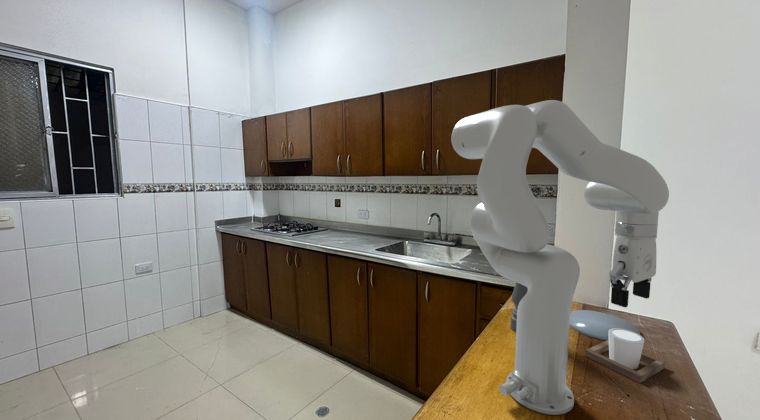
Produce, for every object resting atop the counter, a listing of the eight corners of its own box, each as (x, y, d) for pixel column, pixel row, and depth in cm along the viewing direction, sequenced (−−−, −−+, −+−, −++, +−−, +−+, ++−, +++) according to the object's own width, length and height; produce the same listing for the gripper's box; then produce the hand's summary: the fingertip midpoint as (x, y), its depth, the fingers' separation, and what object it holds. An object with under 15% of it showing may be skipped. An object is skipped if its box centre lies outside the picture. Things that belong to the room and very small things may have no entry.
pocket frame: (639, 383, 67) (640, 376, 67) (585, 355, 77) (585, 349, 77) (664, 368, 72) (665, 361, 72) (610, 344, 83) (610, 338, 82)
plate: (618, 349, 80) (618, 345, 80) (552, 320, 96) (553, 317, 96) (652, 332, 88) (652, 329, 88) (586, 308, 104) (587, 306, 104)
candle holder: (534, 327, 92) (538, 245, 89) (532, 336, 87) (536, 249, 84) (512, 322, 96) (515, 243, 93) (508, 330, 90) (512, 247, 88)
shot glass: (649, 372, 71) (651, 343, 70) (615, 369, 72) (617, 340, 72) (631, 355, 78) (633, 329, 77) (600, 352, 79) (602, 326, 78)
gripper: (635, 237, 64) (629, 315, 66) (673, 228, 72) (667, 298, 74) (596, 231, 71) (592, 302, 73) (635, 224, 78) (630, 288, 81)
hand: (630, 300), depth 73 cm, fingers open, 9 cm apart
